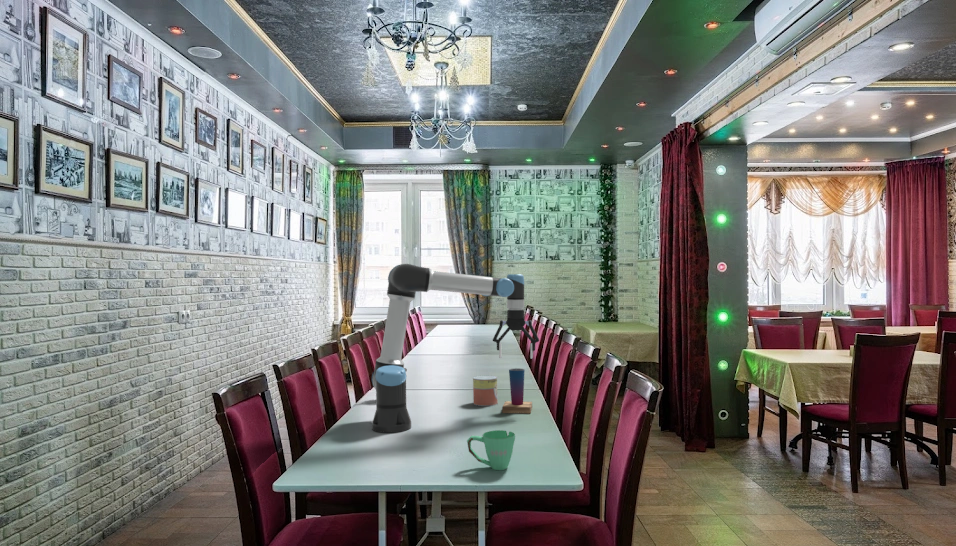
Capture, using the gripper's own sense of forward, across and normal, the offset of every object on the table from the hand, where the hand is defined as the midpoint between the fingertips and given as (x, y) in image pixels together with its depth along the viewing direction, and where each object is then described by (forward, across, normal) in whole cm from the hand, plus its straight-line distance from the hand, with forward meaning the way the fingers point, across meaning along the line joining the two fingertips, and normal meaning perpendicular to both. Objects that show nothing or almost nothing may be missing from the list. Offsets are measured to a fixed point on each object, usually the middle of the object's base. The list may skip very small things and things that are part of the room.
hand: (515, 358), depth 255 cm
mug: (+23, 0, +79) cm, 82 cm away
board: (+23, -1, 0) cm, 23 cm away
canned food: (+23, +15, -13) cm, 31 cm away
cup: (+20, 0, 0) cm, 20 cm away
